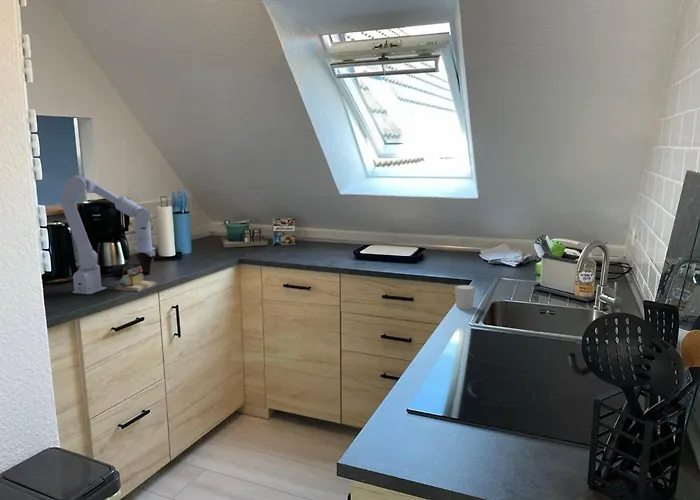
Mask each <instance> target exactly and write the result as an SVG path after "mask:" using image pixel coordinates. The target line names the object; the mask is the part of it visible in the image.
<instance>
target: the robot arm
mask: <svg viewBox="0 0 700 500" xmlns="http://www.w3.org/2000/svg"><path fill="white" fill-rule="evenodd" d="M85 191H86V193H88V194H96V195H98V196H99V197H102V198H103V199H106V200H107V201H109V202H111V203H112V204H114V206H115V209H116V210H117V211H119V212H121V213H123V214H124V215H127V216H129V217H130V218H131V217H132V218H134V219H135V227H134V231H135V243H136V246H134V252H135V253H138V254H135V256H136V258H137V260H138V261H139V264H141V267H142V270H143V272H149V270H150V271H151V266H152V265H151V264H152V262H153V261H152V260H153V258H154V257H156V251H155V250H156V248H155V247H153V243H152V242H153V241H152V240H153V239H152V229H151V228H152V227H151V218H152V215H151V212H150V211H149V210H148V209H147V208H146V207H145V206H142V204H141V203H137V202H136V201H134V200H132V198H131V197H129V196H125V195H122V196H118V195H117V194H115V193H113V192H112V191H110V190H109V189H107V188H106V187H104V186H103V185H101V184H99V183H98V182H95V181H93V180H91V179H88V178H85V177H84V176H82V175H80V174H75V175H73V176H71V177H70V178H69V179H68V180H67V181H66V183H65V184H64V186H63V189H62V192H61V196H60V198H59V203H60V206H61V208H62V211H63V213H64V216H65V219H66V221H67V224H68V227H69V229H70V232H71V234H72V237H73V240H74V242H75V244H76V248H77V252H78V254H79V260H78V262H79V263H78V264H79V265H80V266H78V270H77V271H76V272H74V273H73V276H72V280H73V291H72V293H73V294H79V295H80V294H81V295H92V294H95V293H99V292H101V291H103V290H106V289H107V288H108V287H107V286H102V279H101V276H102V275H101V267H100V265H99V264H98V262H99V261H98V257H99V256H98V253H97V252H96V251H95V250H94V249H93V246H92V244H91V242H90V239H89V238H88V233H87V232H86V230H85V226H84V224H83V221H82V218H81V215H80V213H79V210H78V208H77V205H76V201H77V199H78V198H79V196H80V195H81V194H83V192H85Z"/></svg>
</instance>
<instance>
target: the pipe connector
mask: <svg viewBox="0 0 700 500" xmlns="http://www.w3.org/2000/svg"><path fill="white" fill-rule="evenodd" d="M138 266H141V264H140V263H128V264H127V263H126V264H125V263H124V264H112V265H111V275H112V277H122V276H124V275H128V270H129V269H134V268H136V267H138ZM139 273H142V274H143V275H144V276H145V275H150V274H151V269H150V270H149V272H139Z"/></svg>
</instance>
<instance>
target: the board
mask: <svg viewBox="0 0 700 500" xmlns="http://www.w3.org/2000/svg"><path fill="white" fill-rule="evenodd" d="M156 285H158V281H153V280H143V281H142V283H140V284H137V285H134V286H126V287H123V286H121V284H120V285H118V286H117V285H116V286H115V290H117V291H127V292H128V291H130V292H140V291H142V290H145V289H148V288H151V287H154V286H156Z"/></svg>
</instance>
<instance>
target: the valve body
mask: <svg viewBox="0 0 700 500" xmlns="http://www.w3.org/2000/svg"><path fill="white" fill-rule="evenodd" d="M121 277H122V278H120V280H119V284H120V285H121V286H123V287H126V286H134V285H137V284H140V283H142V281H145V280H144V279H145V275H143V274H142V273H136V275H124V276H121Z"/></svg>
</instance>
